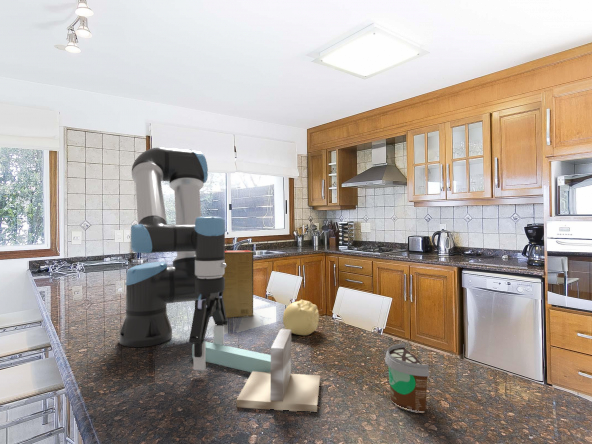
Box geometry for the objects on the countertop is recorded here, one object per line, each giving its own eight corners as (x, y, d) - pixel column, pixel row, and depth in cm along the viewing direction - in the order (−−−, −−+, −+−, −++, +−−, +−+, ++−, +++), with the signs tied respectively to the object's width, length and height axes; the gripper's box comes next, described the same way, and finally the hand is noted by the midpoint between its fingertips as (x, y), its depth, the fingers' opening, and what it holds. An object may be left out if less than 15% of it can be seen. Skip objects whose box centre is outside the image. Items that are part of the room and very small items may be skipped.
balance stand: (236, 407, 70) (237, 347, 69) (252, 377, 82) (252, 327, 82) (316, 412, 68) (317, 351, 68) (320, 381, 81) (320, 330, 81)
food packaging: (249, 310, 144) (249, 249, 143) (254, 316, 135) (254, 251, 134) (216, 312, 139) (216, 250, 139) (218, 319, 130) (219, 252, 130)
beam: (192, 359, 94) (192, 344, 94) (201, 354, 97) (201, 340, 97) (276, 379, 82) (276, 362, 82) (283, 374, 85) (283, 357, 85)
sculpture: (316, 339, 109) (316, 305, 109) (279, 336, 111) (279, 303, 111) (321, 328, 120) (321, 297, 120) (287, 326, 123) (287, 295, 123)
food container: (376, 387, 78) (377, 343, 78) (403, 387, 79) (403, 342, 78) (397, 419, 66) (397, 366, 66) (428, 418, 66) (429, 365, 66)
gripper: (205, 284, 77) (205, 380, 77) (237, 270, 102) (237, 342, 102) (173, 284, 78) (173, 378, 78) (213, 269, 103) (212, 341, 103)
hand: (209, 358), depth 90 cm, fingers open, 13 cm apart
